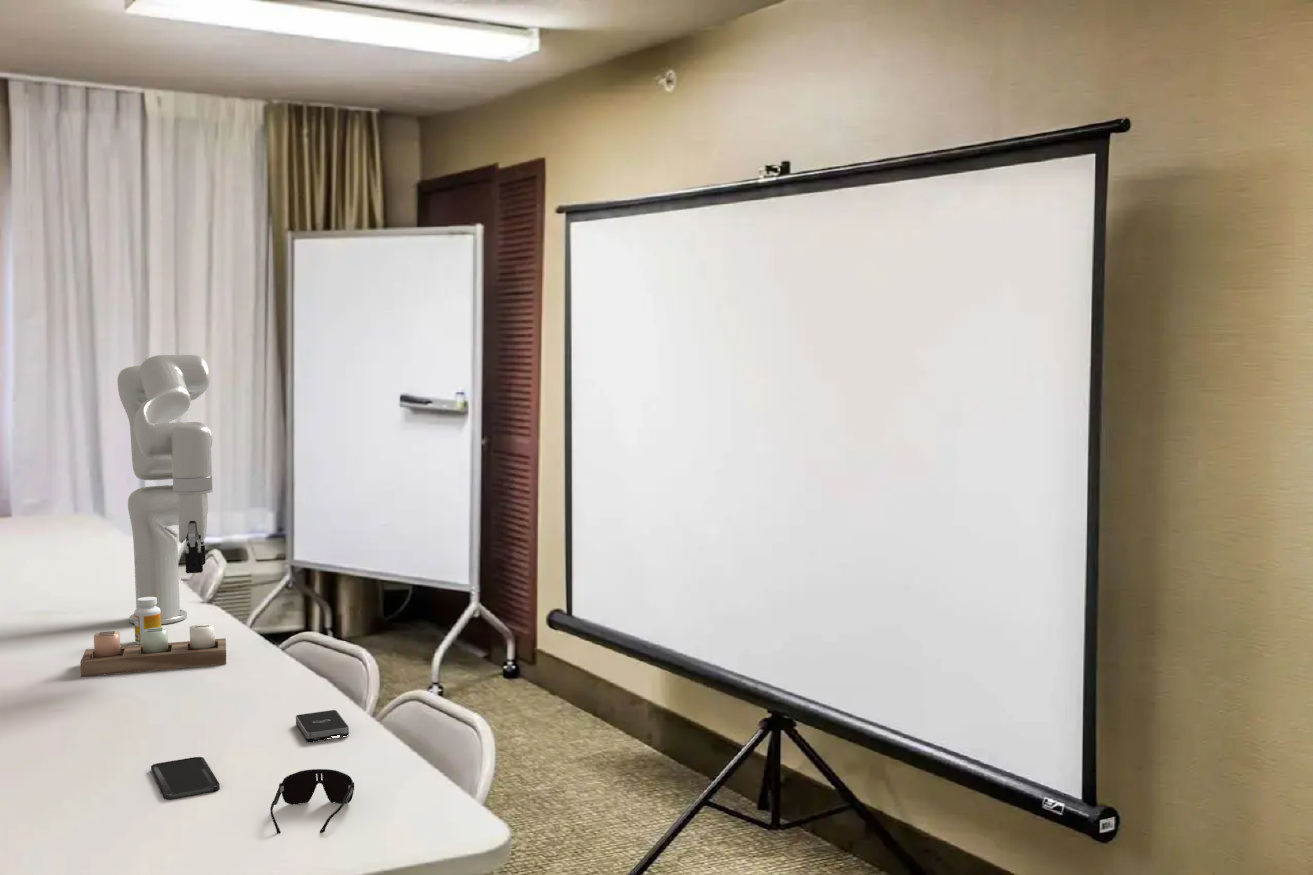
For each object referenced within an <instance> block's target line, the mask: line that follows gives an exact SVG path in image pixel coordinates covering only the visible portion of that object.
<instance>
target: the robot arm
mask: <svg viewBox="0 0 1313 875" xmlns="http://www.w3.org/2000/svg"><path fill="white" fill-rule="evenodd" d="M210 379H211V373H210V369H209V365H208V363H207V362H206V360H205V359H204V358H203V357H201V356H200V355H198V354H197V355H196V354H162V355H161V354H160V355H153V356H150V357H148V358H146V359H145V360H144V361H142V363H141V364H140V365H133V366H128V367H125V368H123V369H121V371H120V372H119V373H118V376H117V390H118V397H119V398H120V402H121V404H122V407H123V409H124V411H125V413H126V416H127V419H128V422H129V432H130V450H131V451H130V452H131V462H132V469H133V473H134V475H135V477H136V478H137V479H139V480H142V481H164V480H165V481H166V480H167V481H168V480H172V484H171V485H168V484H167V485H166V484H164V485H150V486H144V487H140V488H137V489H135V490H133V491H132V492H131V493H130V495H129V497H128V498H127V499H128V500H127V510H128V515H129V520H130V524H131V525H130V526H131V531H132V541H133V542H132V543H133V556H134V557H133V559H134V560H133V561H134V582H135V585H134V586H135V588H134V589H135V606H136V607H135V610H136V609H137V608H139V606H137V599H138V598H142V597H156V598H157V604H156V607H159V608H160V610H161V625H166V624H173V623H177V622H181V621H183V620H185V619H187V617H188V612H187V611H186V610H184V609H181V606H180V601H181V600H180V574H179V552H178V549H179V548H178V544H177V541H176V540H175V538H174V537H173V536H172V535H171V534H170V533H169V532H168V531H167V530H166V529H165V528H166V527H172V526H178V542H179V543H180V544H183V543H184V542H185V553H184V560H185V563H184V564H185V573H186V574H199V573H200V574H201V573H203V571H204V565H205V564H206V545H205V540H206V537H207V528H208V525H207V524H208V511H209V498H208V494H210V493H213V476H212V475H213V470H212V469H213V468H212V467H213V466H212V447H213V446H212V445H213V437H212V432H211V431H212V430H211V429H210V428H209V426H207V425H206V423H203V422H201V421H200V422H199V421H189V422H188V421H187V422H179V421H178V422H172V421H174V420H177V419H178V418H180V417H182V416H183V415H185V414H186V412H187V411H189V408H190V405H191V401H194V400H197V399H198V398H199V397H201V396H202V395H203V394H204V393H205V392H206V391H207V389H208V387H209V384H210V381H211V380H210ZM129 623H130V624H134V625H135V622H134V613H133V614H131V615H130V616H129Z"/></svg>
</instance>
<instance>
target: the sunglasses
mask: <svg viewBox="0 0 1313 875" xmlns="http://www.w3.org/2000/svg"><path fill="white" fill-rule="evenodd" d="M318 784H320V785H321V786H322V787H323V791H324V793H325V795H326V797H327V799H328V801H329V802H330V803H332V804H335V803H336V804H340V805H339V807H338V808H337V809H335V811H334V812H332V814H331V813H330V814H331V815H329V817H328V818H327V819H326V821H325V822H324V824H323V826H322V827H321V828H320V830H319V833H320V834H322V833H324V832H326V828H327V826H328V825H329V822H330V821H331V820H332V818H333V817H334V816H336V815H337V814H338V813H339V812H340V811H341V809H342V808H343V807H344V805H346V804H349V803H350V802H351V801H352V799H353V796H354V791H355V782H354V781H353V779H352V777H351V776H350V775H349V774H346V773H344V772H342V771H339V770H336V769H328V768H327V769H326V768H317V769H315V768H313V769H312V768H311V769H303V770H300V771H297V772H293V773H291V774H288V775H287V776H285V777H284V778H283V780H282V781H281V782H280V783H279V784H278V789H277V791H276V794H275V796H274V798H273V800H272V803H271V805H270V809H269V810H270V816H271V820H272V822H273V825H274V826H275V830H276V833H277V834H281V829H280V827H279V826H278V823H277V820H276V817H275V816H274V807H275V806H277V805H278V803H279V800H280V798H281V797H282V799H283V801H284V802H285V803H286V804H288V805H293V804H295V805H299V804H298V803H301V804H308V803H309V802H310V800H311V799H312V797H313V795H314V793H315V791H316V788H317V785H318ZM281 795H282V796H281ZM333 802H335V803H333Z"/></svg>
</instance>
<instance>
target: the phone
mask: <svg viewBox="0 0 1313 875" xmlns="http://www.w3.org/2000/svg"><path fill="white" fill-rule="evenodd" d="M150 773H151V774H152V776H153V777H152V778H153V779H154V781H155V783H156V785H157V787H158V789H159V791H160V793H161V796H162V798H163V799H164V800H166V801H167V800H168V801H169V800H170V801H172V800H179V799H183V798H188V797H190V798H191V797H195V796H201V795H207V794H213V793H216V792H219V791H220V783H219V781H218V779H217V777H216V776H215V774H214V772H213V770H212V769H211V768H210V766H209V764H208V763H207V761H206V759H205V758H204V757H203V756H193V757H189V758H188V757H187V758H181V759H174V760H169V761H163V762H158V763H154V764H151V765H150Z"/></svg>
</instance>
